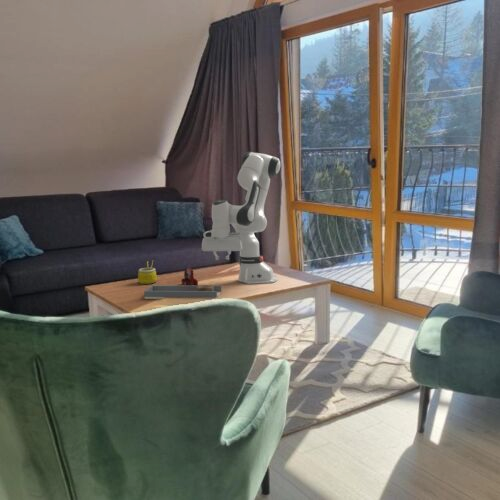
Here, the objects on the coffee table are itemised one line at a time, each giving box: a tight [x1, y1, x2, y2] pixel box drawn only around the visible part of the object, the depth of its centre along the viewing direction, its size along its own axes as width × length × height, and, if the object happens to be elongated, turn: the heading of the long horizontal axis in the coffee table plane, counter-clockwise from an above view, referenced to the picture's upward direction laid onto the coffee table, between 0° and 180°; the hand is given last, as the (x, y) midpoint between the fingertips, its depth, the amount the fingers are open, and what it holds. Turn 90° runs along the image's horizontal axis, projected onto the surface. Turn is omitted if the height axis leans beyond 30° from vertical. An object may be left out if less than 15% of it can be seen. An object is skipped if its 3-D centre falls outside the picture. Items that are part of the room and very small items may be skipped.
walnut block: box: [196, 284, 215, 291], centre depth 295 cm, size 8×6×4 cm
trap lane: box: [143, 284, 222, 300], centre depth 297 cm, size 38×12×4 cm, turn 81°
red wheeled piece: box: [180, 266, 199, 286], centre depth 317 cm, size 7×12×10 cm, turn 24°
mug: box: [137, 260, 158, 285], centre depth 329 cm, size 13×11×12 cm
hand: (222, 259), depth 291 cm, fingers open, 4 cm apart
